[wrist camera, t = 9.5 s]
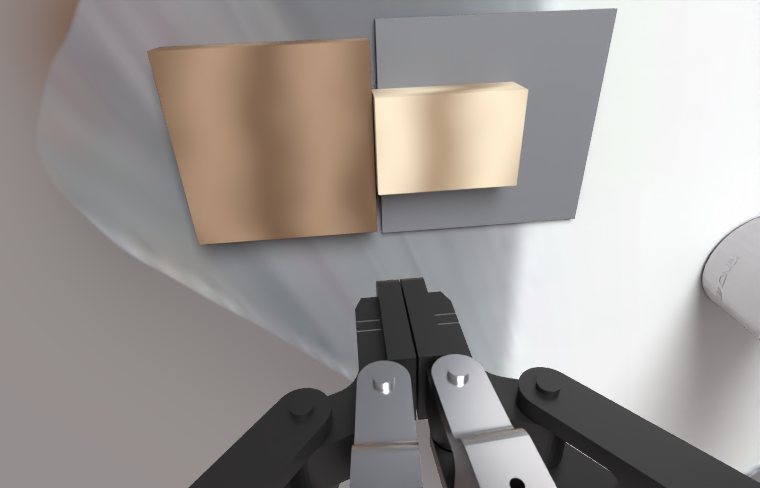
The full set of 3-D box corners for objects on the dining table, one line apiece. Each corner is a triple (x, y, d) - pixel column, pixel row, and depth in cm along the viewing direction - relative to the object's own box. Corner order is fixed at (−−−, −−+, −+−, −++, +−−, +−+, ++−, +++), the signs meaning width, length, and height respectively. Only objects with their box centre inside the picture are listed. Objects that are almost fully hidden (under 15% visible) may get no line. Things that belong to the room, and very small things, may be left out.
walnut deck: (367, 37, 27) (369, 41, 25) (374, 218, 33) (377, 231, 31) (159, 47, 26) (147, 51, 24) (206, 230, 32) (199, 244, 30)
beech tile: (513, 81, 28) (528, 89, 26) (503, 171, 31) (516, 185, 29) (371, 89, 28) (374, 98, 26) (375, 180, 31) (378, 195, 29)
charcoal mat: (613, 8, 27) (617, 8, 27) (572, 216, 34) (574, 218, 34) (374, 18, 26) (375, 19, 26) (382, 230, 33) (382, 232, 33)
